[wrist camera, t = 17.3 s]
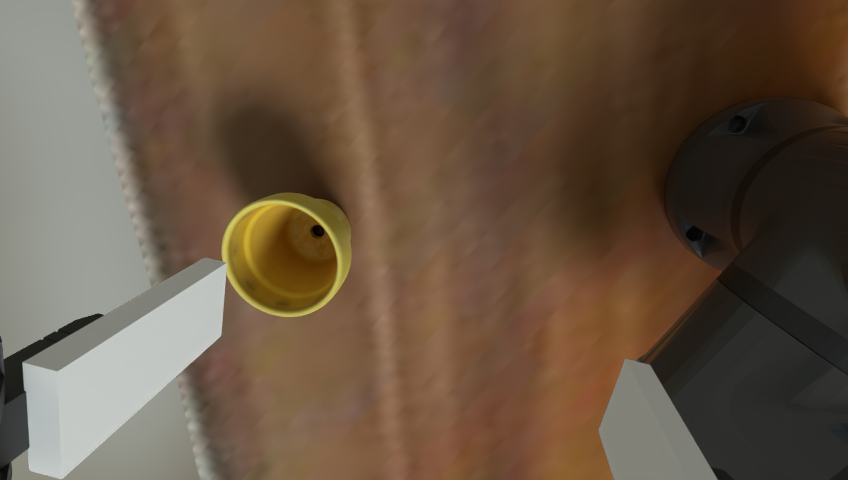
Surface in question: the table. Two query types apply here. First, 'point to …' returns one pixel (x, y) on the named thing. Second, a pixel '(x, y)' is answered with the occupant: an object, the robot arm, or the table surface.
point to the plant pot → (287, 253)
